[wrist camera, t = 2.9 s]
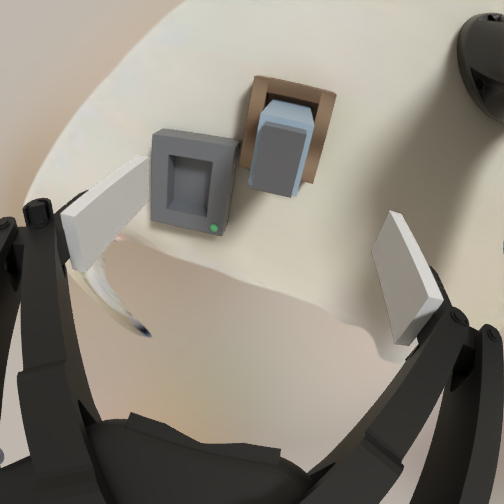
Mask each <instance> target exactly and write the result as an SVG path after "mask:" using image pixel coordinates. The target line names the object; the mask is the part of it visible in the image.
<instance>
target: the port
mask: <svg viewBox="0 0 504 504" xmlns="http://www.w3.org/2000/svg"><path fill="white" fill-rule="evenodd" d="M239 145H240V140H235V139H229V138H223V137H218V136H211V135H205V134H199V133H192V132H185V131H177V130H169V129H162V130H160V131H158V132H156V133H154V134H153V136H152V161H151V221H156V222H160V223H165V224H169V225H174V226H178V227H183V228H187V229H192V230H196V231H201V232H205V233H210V234H214V235H218V236H222V235H223V233H224V231H225V228H226V226H227V222H228V215H229V209H230V202H231V195H232V189H233V182H234V176H235V170H236V163H237V157H238V151H239Z"/></svg>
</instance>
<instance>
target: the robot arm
mask: <svg viewBox="0 0 504 504" xmlns="http://www.w3.org/2000/svg"><path fill="white" fill-rule="evenodd" d="M457 55H458V64H459V69H460V73H461V76H462V79H463V82H464V84H465V86H466V88H467V90H468V92H469V94H470V96H471V97H472V99H473V100H474V102H475V103H476V104H477V106H478V107H479V108H480V109H481V110H482V111H483V112H484V113H486V114H487V115H488V116H490V117H491V118H493V119H495V120H497V121H499V122H502V123H504V15H503V14H498V13H484V14H478V15H475V16H473V17H471V18H470V19H469V20H468V21H467V22H466V23H465V24H464V26H463V28H462V29H461V32H460V35H459V39H458V47H457ZM148 201H149V157H146V156H139V155H136V156H135V157H134V158H132V159H131V160H129V161H128V162H126V163H125V164H123V165H122V166H121V167H119V168H118V169H116V170H115V171H114V172H112V173H111V174H109V175H108V176H107V177H105V178H104V179H103V180H101V181H100V182H99V183H97V184H96V185H95V186H93V187H92V188H91V189H90V190H86V191H84V192H82V193H80V194H78V195H77V196H75V197H74V198H73V199H72V200H70V201H69V202H68V203H67V205H66V204H65V205H64V206H63V207H62V208H61V209H59V210H58V211H57V212H56V213H55V214H53V209H52V204H51V200H49V199H48V198H39V199H35V200H32V201H30V202H29V203H27V204H26V205H25V206H24V207H23V213H24V218H25V222H26V226H27V227H17V224H16V220H15V218H13V217H3V218H2V219H0V418H1V409H2V398H3V388H4V379H5V373H6V366H7V360H8V354H9V349H10V343H11V338H12V334H13V329H14V325H15V321H16V316H17V313H18V309H19V305H20V301H21V340H22V356H23V371H22V372H19V373H18V375H17V386H18V394H19V401H20V408H21V414H22V419H23V424H24V430H25V434H26V438H27V443H28V447H29V451H30V456H28V457H25V458H23V459H21V460H19V461H17V462H15V463H12V464H10V465H8V466H5V467H3V468H1V467H0V504H379V503H380V501H381V500H382V499H383V498H384V496H385V495H386V494H387V493H388V491H389V490H390V488H391V487H392V486H393V485H394V483H395V482H396V480H397V479H398V478H399V476H400V475H401V473H402V471H403V468H404V465H403V464H402V463H401V462H402V459H403V458H404V456H405V454H406V453H407V452H408V450H409V449H410V447H411V446H412V444H413V442H414V441H415V439H416V438H417V436H418V434H419V432H420V431H421V429H422V428H423V426H424V424H425V422H426V421H427V419H428V417H429V415H430V414H431V412H432V410H433V408H434V406H435V404H436V402H437V400H438V398H439V396H440V394H441V392H442V390H443V388H444V393H443V398H442V403H441V407H440V411H439V416H438V420H437V424H436V428H435V431H434V435H433V439H432V442H431V445H430V449H429V452H428V455H427V458H426V461H425V464H424V468H423V470H422V473H421V476H420V478H419V481H418V484H417V486H416V489H415V491H414V494H413V496H412V499H411V501H410V503H409V504H488V503H489V500H490V496H491V492H492V487H493V482H494V478H495V473H496V468H497V462H498V456H499V449H500V442H501V433H502V422H503V405H504V360H503V345H502V344H503V343H502V338H501V336H500V334H499V332H498V331H497V329H496V328H494V327H493V326H491V325H489V324H485V325H483V326H482V328H481V329H480V330H479V331H478V330H476V329H474V328H472V327H470V326H469V321H468V319H467V317H466V315H465V314H464V313H463V312H462V311H461V310H459V309H458V308H456V307H452V305H451V302H450V300H449V298H448V295H447V293H446V291H445V289H444V287H443V284H442V283H441V280H440V278H439V276H438V274H437V273H436V271H435V270H434V269H433V268H432V267H431V266H429V265H428V264H427V262H426V260H425V258H424V256H423V254H422V252H421V250H420V248H419V246H418V244H417V242H416V240H415V238H414V236H413V234H412V232H411V231H410V229H409V227H408V225H407V223H406V221H405V220H404V218H403V216H402V214H400V213H396V212H393V211H390V210H389V212H388V215H387V217H386V220H385V222H384V224H383V226H382V229H381V231H380V233H379V236H378V238H377V240H376V242H375V244H374V247H373V249H372V251H371V252H372V256H373V259H374V262H375V266H376V269H377V273H378V277H379V280H380V284H381V288H382V292H383V296H384V300H385V304H386V308H387V312H388V316H389V321H390V325H391V330H392V334H393V339H394V344H399V345H406V346H409V345H410V344H411V343H412V342H413V340H414V339H415V338H416V337H417V340H418V343H419V344H418V345H417V346H416V348H415V349H414V350H413V351H412V352H411V353H410V355H409V356H408V357H407V358H406V359H405V360H406V362H405V363H404V365H403V366H402V368H401V369H400V371H399V372H398V373H397V375H396V376H395V378H394V379H393V380H392V382H391V383H390V384H389V386H388V387H387V388H386V390H385V391H384V392H383V394H382V395H381V396H380V397H379V398H378V400H377V401H376V402H375V403H374V405H373V406H372V407H371V408H370V410H369V411H368V412H367V413H366V414H365V416H364V417H363V418H362V419H361V420H360V421H359V423H358V424H357V425H356V426H355V427H354V428H353V429H352V431H351V432H350V433H349V434H348V435H347V436H346V437H345V438H344V439H343V440H342V442H341V443H339V444H338V446H337V447H336V448H335V449H334V450H333V451H332V452H331V453H330V454H329V455H328V456H327V457H326V458H325V459H323V460H322V461H321V462H320V463H319V464H317V465H316V466H315V467H314V468H312V469H311V470H310V471H309V472H308V473H306V472H305V471H303V470H302V469H301V468H300V467H298V466H297V465H295V464H294V463H292V462H291V461H289V460H287V459H285V458H282V457H280V452H281V449H278V448H271V447H264V446H258V445H252V444H246V443H232V444H230V443H229V444H204V443H200V442H198V441H196V440H194V439H192V438H190V437H188V436H186V435H184V434H183V433H181V432H179V431H177V430H176V429H174V428H172V427H170V426H168V425H167V424H165V423H161V422H158V421H155V420H152V419H149V418H146V417H143V416H141V415H138V414H135V413H132V412H131V413H130V415H129V418H128V419H111V420H105V421H102V420H101V418H100V415H99V413H98V411H97V409H96V407H95V404H94V401H93V398H92V395H91V392H90V388H89V385H88V381H87V377H86V374H85V370H84V366H83V362H82V358H81V354H80V349H79V344H78V340H77V335H76V330H75V324H74V319H73V313H72V307H71V301H70V294H69V286H68V278H67V269H66V266H65V263H66V262H67V261H68V259H69V258H70V261H71V265H72V268H73V269H75V270H78V271H81V272H84V273H87V271H88V270H89V269H90V268H91V266H92V265H93V264H94V263H95V261H96V260H97V259H98V258H99V257H100V255H101V254H102V253H103V252H104V251H105V249H106V248H107V247H108V246H109V245H110V244H111V242H112V241H113V240H114V239H115V238H116V237H117V235H118V234H119V233H120V232H121V231H122V230H123V229H124V228H125V226H126V225H127V224H128V223H129V222H130V221H131V220H132V219H133V218H134V216H135V215H136V214H137V213H138V212H139V211H140V210H141V209H142V208H143V207H144V206H145V205H146V204H147V202H148ZM503 252H504V242H503ZM444 386H445V387H444ZM3 460H4V453H3V451H2V450H1V449H0V464H1V463H2V462H3Z"/></svg>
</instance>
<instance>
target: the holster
mask: <svg viewBox="0 0 504 504" xmlns="http://www.w3.org/2000/svg"><path fill="white" fill-rule="evenodd" d="M274 98H277V99H282V100H287V101H291V102H295V103H300V104H304V105H308V106H310V109H311V113H312V117H313V121H314V125H315V126H314V130H313V134H312V138H311V142H310V145H309V149H308V153H307V157H306V161H305V165H304V169H303V173H302V176H301V180H300V181H304V182H308V183H312V184H313V181H314V178H315V174H316V171H317V167H318V163H319V160H320V156H321V153H322V149H323V145H324V141H325V138H326V134H327V130H328V126H329V122H330V119H331V115H332V111H333V107H334V103H335V99H336V94H335V93H334V92H330V91H327V90H323V89H319V88H315V87H311V86H307V85H303V84H299V83H294V82H290V81H285V80H280V79H275V78H270V77H264V76H254V82H253V87H252V93H251V98H250V104H249V109H248V115H247V121H246V126H245V132H244V138H243V144H242V150H241V156H240V162H239V167H242V168H247V169H250V168H251V163H252V157H253V152H254V146H255V141H256V136H257V130H258V125H259V120H260V115H261V112H262V111H263V110H264V109H265V108H266V107H267V106H268V104H269V103H270V102H271V101H272V100H273V99H274Z"/></svg>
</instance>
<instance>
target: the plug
mask: <svg viewBox="0 0 504 504" xmlns="http://www.w3.org/2000/svg"><path fill="white" fill-rule="evenodd" d="M314 126H315V125H314V121H313V117H312V113H311V109H310V106H308V105H304V104H300V103H295V102H291V101H287V100H282V99H277V98H274V99H273V100H272V101H271V102H270V103H269V104H268V106H267V107H266V108H265V109H264V110H263V111H262V112H261V115H260V120H259V125H258V130H257V136H256V141H255V146H254V152H253V157H252V163H251V168H250V174H249V179H248V185H249V186H252V189H255V190H259V191H264V192H268V193H273V194H277V195H281V196H286V197H290V198H291V195H293V196H296V195H297V192H298V188H299V184H300V180H301V176H302V173H303V169H304V165H305V161H306V157H307V153H308V149H309V145H310V142H311V138H312V134H313V130H314Z"/></svg>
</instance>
